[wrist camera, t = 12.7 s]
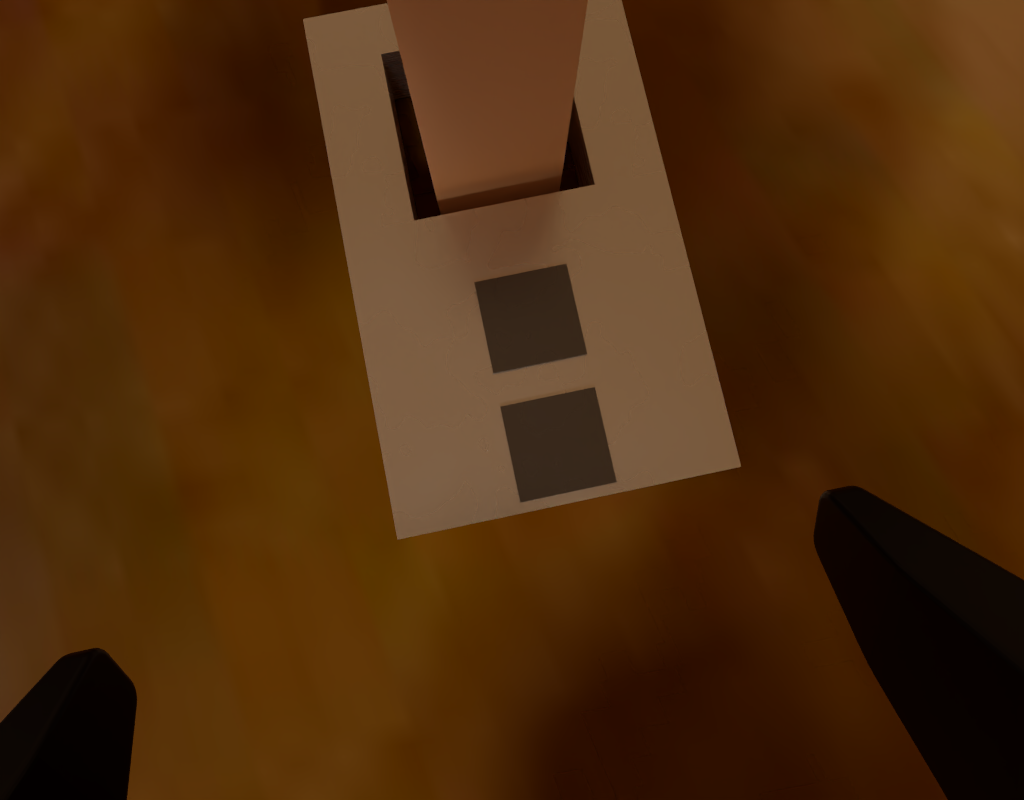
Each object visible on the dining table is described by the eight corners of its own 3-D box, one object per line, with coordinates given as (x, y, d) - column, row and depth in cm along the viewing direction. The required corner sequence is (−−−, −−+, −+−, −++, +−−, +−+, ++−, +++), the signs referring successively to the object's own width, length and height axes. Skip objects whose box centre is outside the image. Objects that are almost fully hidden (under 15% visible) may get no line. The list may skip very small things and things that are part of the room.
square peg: (559, 202, 24) (624, -218, 10) (441, 225, 24) (341, -166, 10) (534, 93, 24) (563, -447, 10) (419, 115, 24) (294, -401, 10)
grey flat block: (715, 470, 22) (742, 466, 20) (410, 535, 22) (396, 539, 20) (601, 14, 25) (612, -42, 22) (324, 68, 24) (301, 17, 22)
